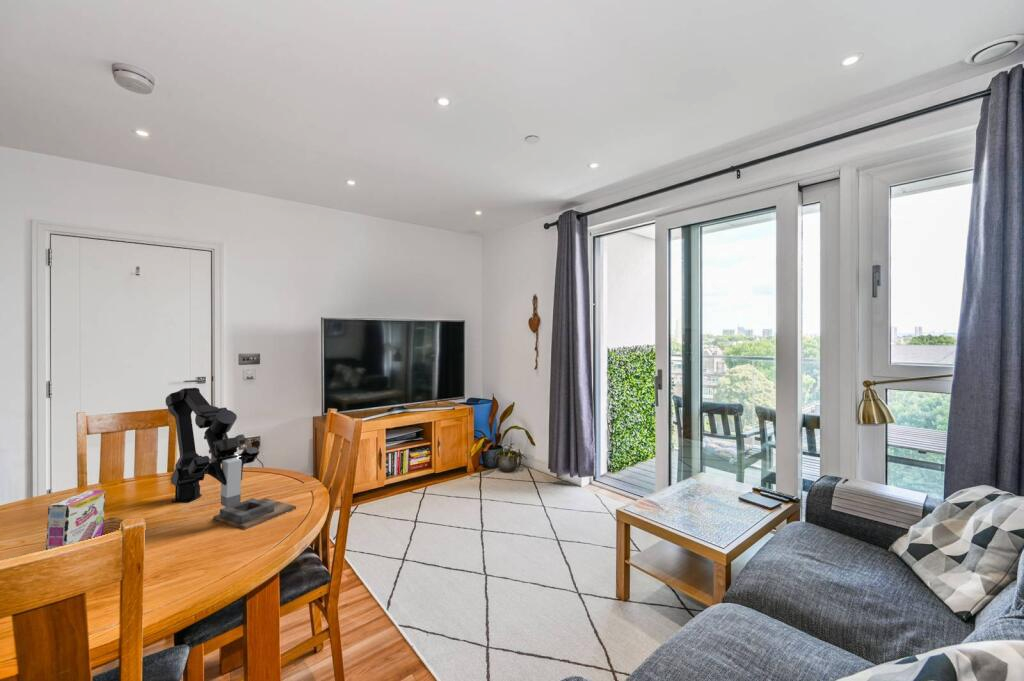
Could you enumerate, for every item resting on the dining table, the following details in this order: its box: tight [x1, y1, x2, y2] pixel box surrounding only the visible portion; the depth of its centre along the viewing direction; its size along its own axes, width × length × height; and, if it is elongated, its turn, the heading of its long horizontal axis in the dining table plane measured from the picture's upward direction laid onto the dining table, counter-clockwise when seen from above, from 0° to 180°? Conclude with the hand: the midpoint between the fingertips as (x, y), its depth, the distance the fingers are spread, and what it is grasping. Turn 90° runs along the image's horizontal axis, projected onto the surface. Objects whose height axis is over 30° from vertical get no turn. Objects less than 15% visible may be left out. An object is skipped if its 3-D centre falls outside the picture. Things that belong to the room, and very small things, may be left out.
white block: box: [220, 458, 242, 508], centre depth 135 cm, size 4×4×14 cm
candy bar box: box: [45, 490, 106, 551], centre depth 112 cm, size 11×5×16 cm, turn 5°
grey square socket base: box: [212, 497, 297, 530], centre depth 143 cm, size 16×18×4 cm
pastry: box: [103, 516, 124, 535], centre depth 126 cm, size 9×7×4 cm
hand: (233, 482), depth 135 cm, fingers closed on white block, 4 cm apart
